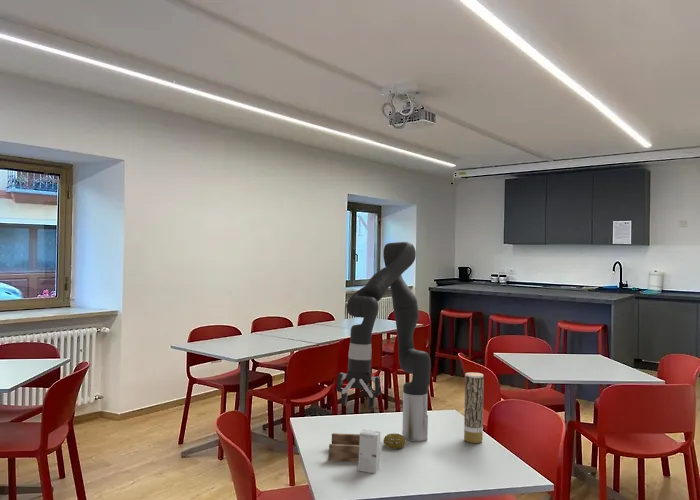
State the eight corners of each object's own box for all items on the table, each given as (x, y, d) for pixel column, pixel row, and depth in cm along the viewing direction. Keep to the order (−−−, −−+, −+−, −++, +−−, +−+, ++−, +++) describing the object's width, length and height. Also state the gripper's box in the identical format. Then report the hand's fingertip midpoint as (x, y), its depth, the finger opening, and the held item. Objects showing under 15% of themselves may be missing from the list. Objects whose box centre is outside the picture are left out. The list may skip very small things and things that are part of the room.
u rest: (368, 449, 187) (368, 434, 187) (367, 462, 175) (368, 446, 175) (331, 447, 187) (332, 433, 187) (328, 460, 175) (329, 445, 175)
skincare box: (357, 471, 167) (358, 433, 168) (361, 465, 172) (362, 428, 172) (376, 473, 166) (377, 435, 166) (379, 468, 170) (380, 431, 170)
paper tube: (462, 442, 196) (463, 375, 196) (465, 436, 202) (466, 371, 203) (481, 445, 193) (482, 377, 194) (483, 439, 200) (484, 373, 200)
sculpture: (410, 435, 190) (396, 441, 185) (410, 446, 190) (396, 452, 185) (392, 430, 196) (379, 435, 190) (392, 441, 196) (379, 446, 190)
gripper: (383, 357, 174) (381, 406, 173) (342, 353, 178) (339, 401, 177) (378, 360, 167) (376, 412, 166) (335, 356, 171) (333, 406, 170)
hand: (357, 406), depth 172 cm, fingers open, 8 cm apart
